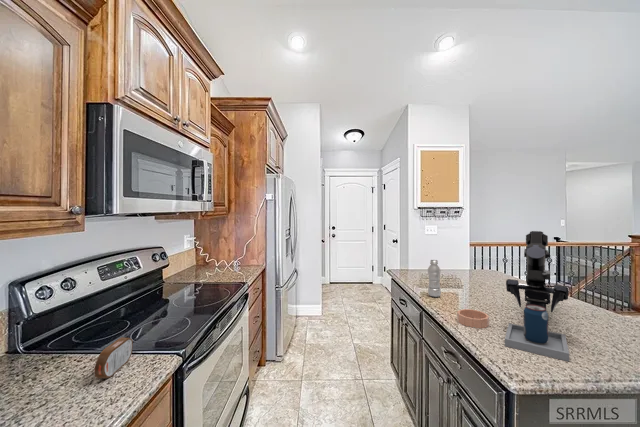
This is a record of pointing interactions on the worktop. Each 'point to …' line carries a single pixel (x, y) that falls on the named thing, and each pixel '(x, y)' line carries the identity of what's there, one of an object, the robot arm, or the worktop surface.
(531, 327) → the soda can
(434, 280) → the plastic bottle
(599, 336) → the worktop surface
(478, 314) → the ring holder
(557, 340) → the tray
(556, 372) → the worktop surface
